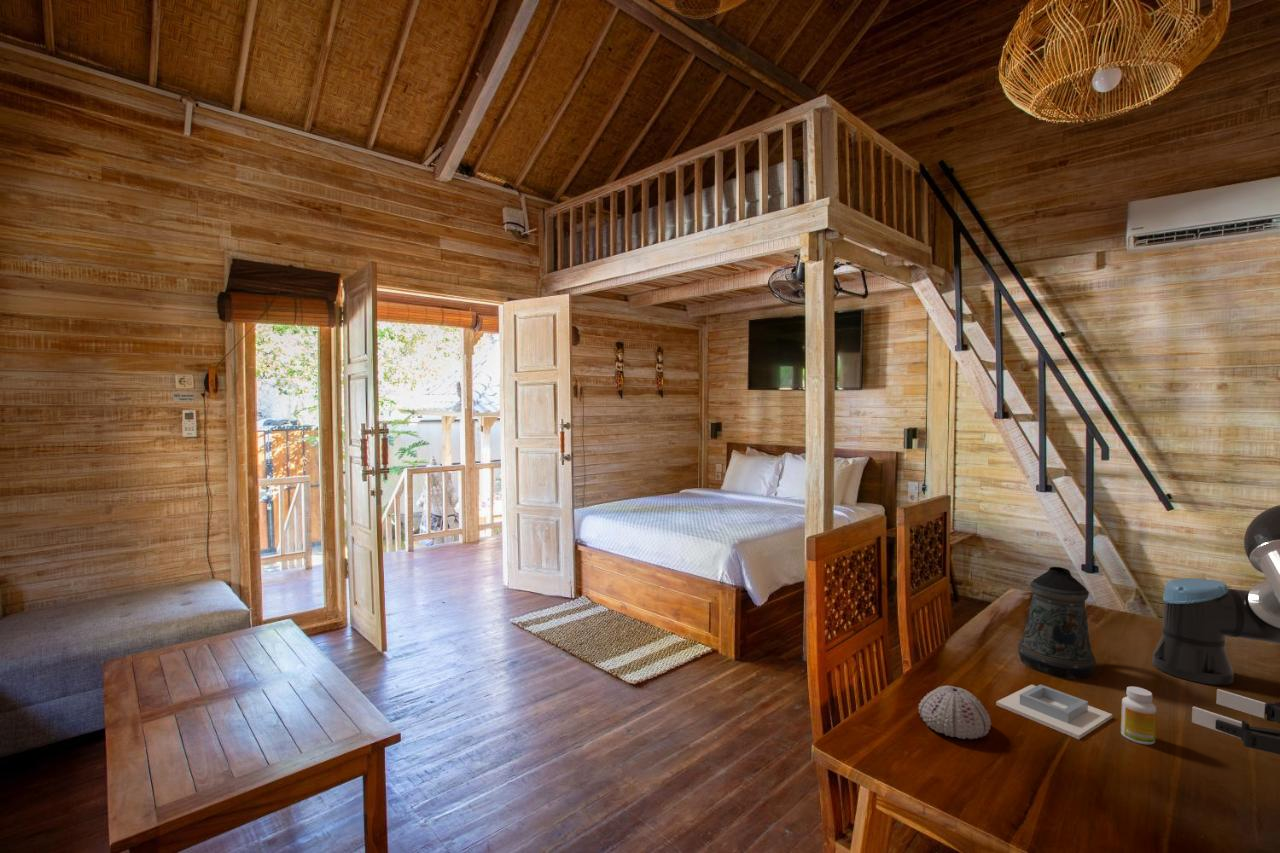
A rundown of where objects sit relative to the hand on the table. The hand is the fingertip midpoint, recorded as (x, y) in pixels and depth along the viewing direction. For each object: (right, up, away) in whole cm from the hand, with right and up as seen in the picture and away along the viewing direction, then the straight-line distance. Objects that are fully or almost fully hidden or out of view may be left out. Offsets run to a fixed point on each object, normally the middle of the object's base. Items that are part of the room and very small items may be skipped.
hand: (1205, 704), depth 111 cm
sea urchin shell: (-41, -11, +13) cm, 44 cm away
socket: (-15, -10, +19) cm, 27 cm away
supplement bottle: (-5, -11, +9) cm, 15 cm away
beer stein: (+2, -10, +44) cm, 45 cm away
